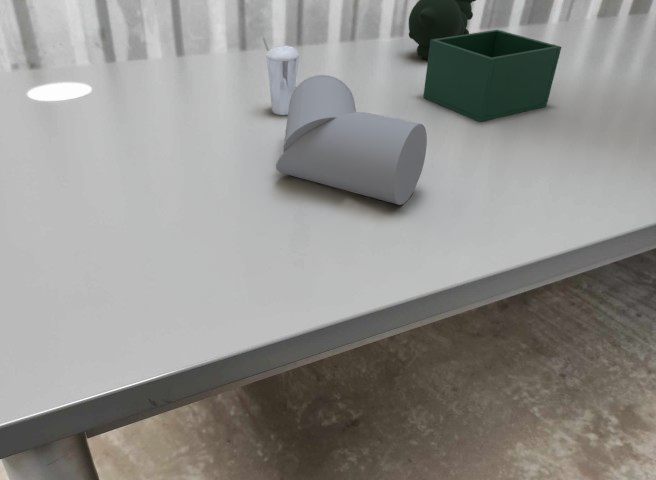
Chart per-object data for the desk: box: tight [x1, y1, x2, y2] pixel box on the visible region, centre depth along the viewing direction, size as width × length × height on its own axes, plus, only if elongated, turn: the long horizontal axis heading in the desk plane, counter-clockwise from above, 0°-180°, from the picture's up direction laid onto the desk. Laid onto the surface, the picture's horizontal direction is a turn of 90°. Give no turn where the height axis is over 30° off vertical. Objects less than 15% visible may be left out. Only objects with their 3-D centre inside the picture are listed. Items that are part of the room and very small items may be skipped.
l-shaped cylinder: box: [275, 74, 428, 206], centre depth 65 cm, size 18×11×20 cm
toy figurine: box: [408, 0, 477, 61], centre depth 106 cm, size 9×19×25 cm
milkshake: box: [262, 37, 300, 116], centre depth 81 cm, size 4×5×10 cm
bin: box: [423, 29, 562, 123], centre depth 84 cm, size 13×12×9 cm
